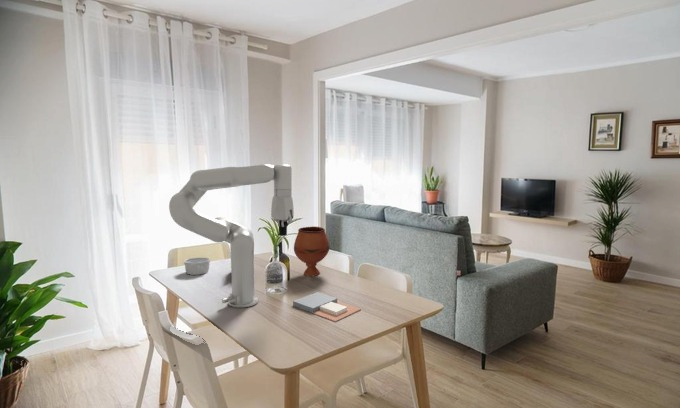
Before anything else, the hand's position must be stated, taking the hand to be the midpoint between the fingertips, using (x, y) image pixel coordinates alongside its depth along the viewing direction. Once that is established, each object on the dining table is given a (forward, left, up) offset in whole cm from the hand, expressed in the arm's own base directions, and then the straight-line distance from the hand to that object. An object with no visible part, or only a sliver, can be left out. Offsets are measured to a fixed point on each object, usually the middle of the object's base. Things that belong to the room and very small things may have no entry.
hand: (282, 235), depth 168 cm
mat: (+6, -27, -29) cm, 40 cm away
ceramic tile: (+5, -25, -28) cm, 38 cm away
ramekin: (-4, +66, -29) cm, 72 cm away
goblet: (+36, +18, -29) cm, 50 cm away
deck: (+6, -14, -29) cm, 33 cm away
